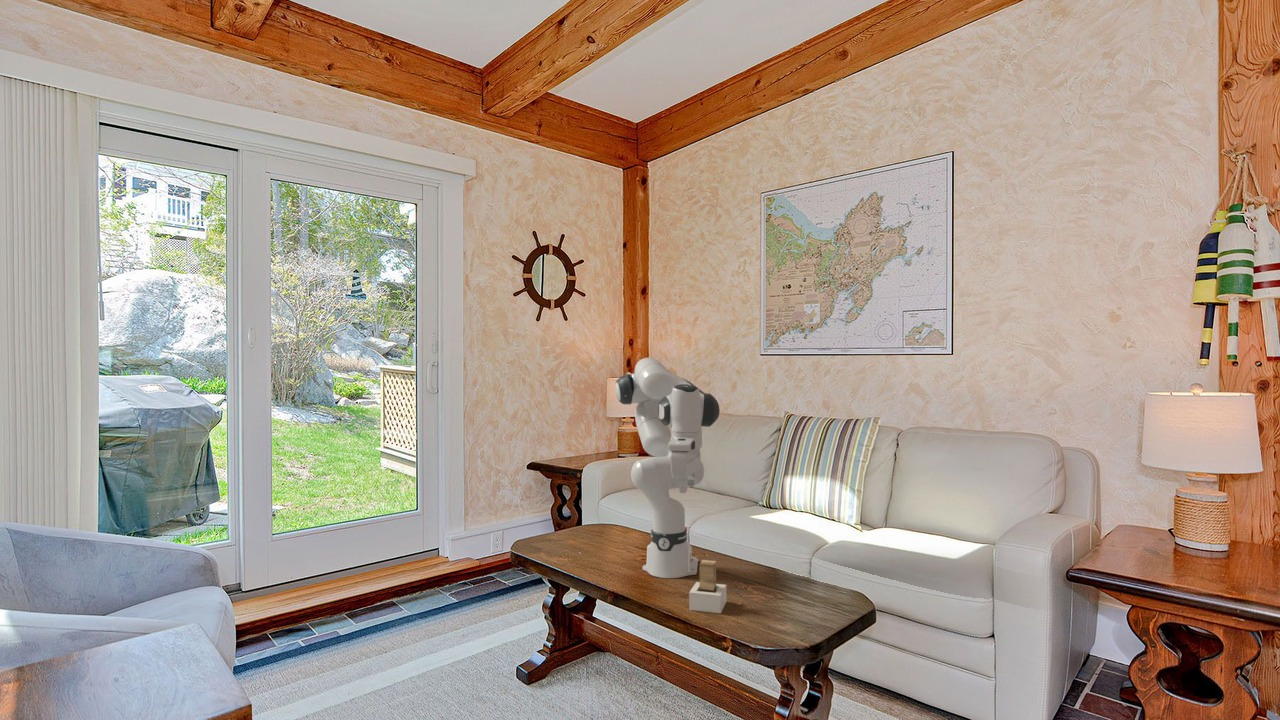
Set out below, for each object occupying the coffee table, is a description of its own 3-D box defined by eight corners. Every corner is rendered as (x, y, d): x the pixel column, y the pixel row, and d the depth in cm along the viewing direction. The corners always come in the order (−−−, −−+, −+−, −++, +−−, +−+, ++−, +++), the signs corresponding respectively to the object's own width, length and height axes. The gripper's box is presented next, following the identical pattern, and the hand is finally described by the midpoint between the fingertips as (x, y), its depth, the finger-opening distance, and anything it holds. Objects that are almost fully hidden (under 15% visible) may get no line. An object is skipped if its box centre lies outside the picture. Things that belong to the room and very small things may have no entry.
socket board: (696, 598, 190) (696, 581, 190) (726, 601, 187) (726, 584, 187) (689, 609, 182) (689, 592, 182) (720, 613, 179) (720, 595, 179)
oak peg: (702, 600, 187) (702, 559, 187) (716, 602, 186) (716, 561, 186) (699, 605, 183) (699, 564, 183) (713, 607, 182) (713, 565, 182)
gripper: (685, 436, 194) (685, 482, 194) (666, 445, 175) (667, 495, 175) (705, 437, 192) (706, 483, 192) (688, 446, 173) (689, 497, 173)
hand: (687, 489), depth 183 cm, fingers open, 8 cm apart
